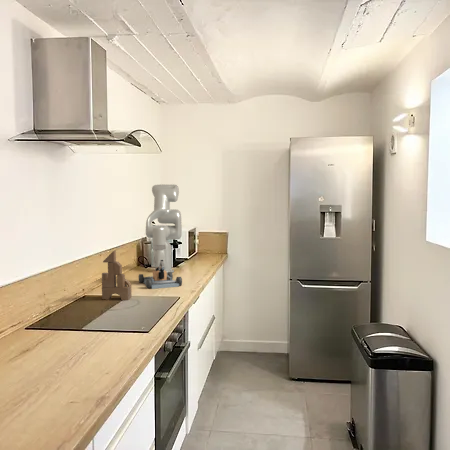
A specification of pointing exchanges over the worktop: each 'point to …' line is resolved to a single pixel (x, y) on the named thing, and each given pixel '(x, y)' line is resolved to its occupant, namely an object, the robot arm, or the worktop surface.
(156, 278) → the block
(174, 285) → the chassis
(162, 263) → the robot arm
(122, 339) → the worktop surface
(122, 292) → the wooden toy
